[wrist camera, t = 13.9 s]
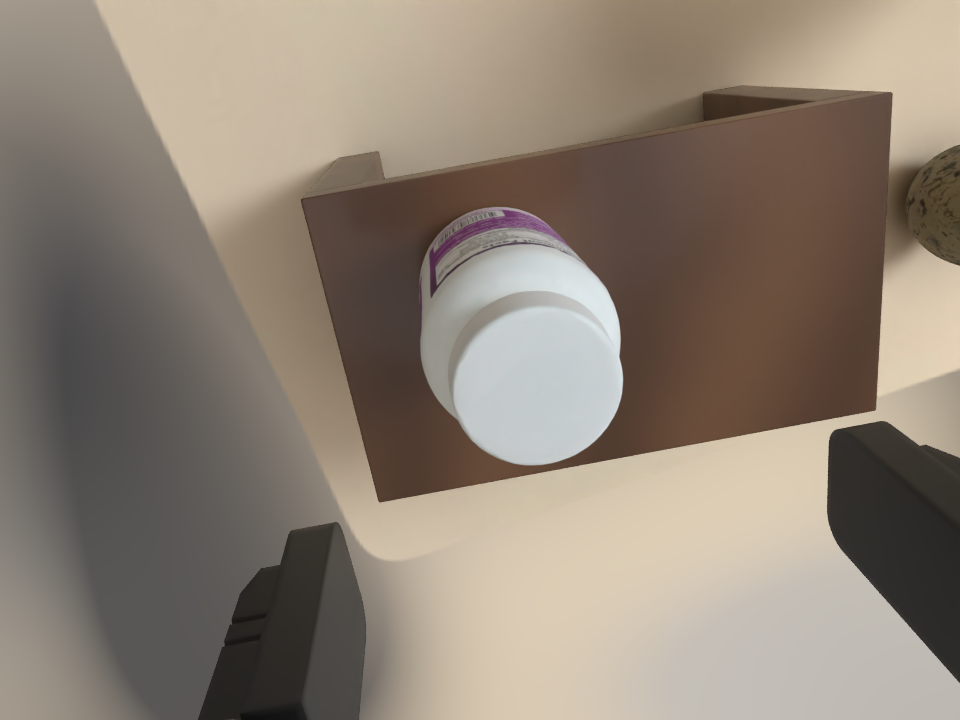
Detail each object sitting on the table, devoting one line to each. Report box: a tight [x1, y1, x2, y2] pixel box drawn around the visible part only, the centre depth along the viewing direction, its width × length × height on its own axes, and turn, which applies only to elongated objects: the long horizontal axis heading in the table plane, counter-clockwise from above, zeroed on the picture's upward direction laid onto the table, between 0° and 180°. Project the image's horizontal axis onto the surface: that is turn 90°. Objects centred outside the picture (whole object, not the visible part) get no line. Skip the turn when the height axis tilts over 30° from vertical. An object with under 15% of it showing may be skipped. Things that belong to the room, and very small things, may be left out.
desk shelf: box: [301, 86, 893, 502], centre depth 32 cm, size 20×12×12 cm, turn 99°
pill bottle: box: [419, 207, 623, 465], centre depth 21 cm, size 5×5×10 cm
